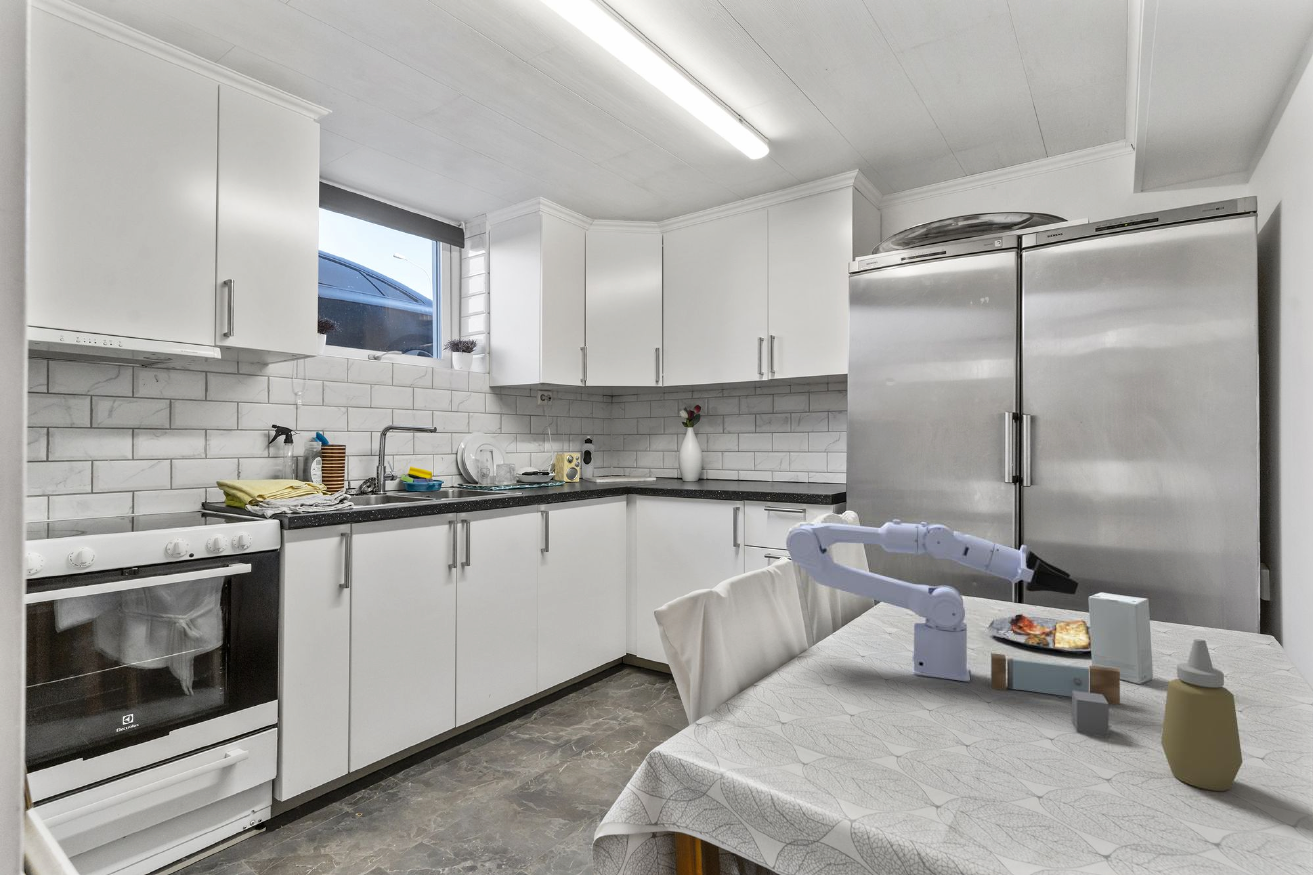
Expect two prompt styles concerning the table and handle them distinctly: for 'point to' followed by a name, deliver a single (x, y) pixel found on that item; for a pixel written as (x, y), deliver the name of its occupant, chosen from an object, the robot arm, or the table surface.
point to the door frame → (1100, 679)
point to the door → (1046, 677)
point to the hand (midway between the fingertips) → (1072, 583)
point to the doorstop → (1090, 713)
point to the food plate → (1045, 632)
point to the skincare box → (1121, 635)
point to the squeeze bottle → (1201, 724)
